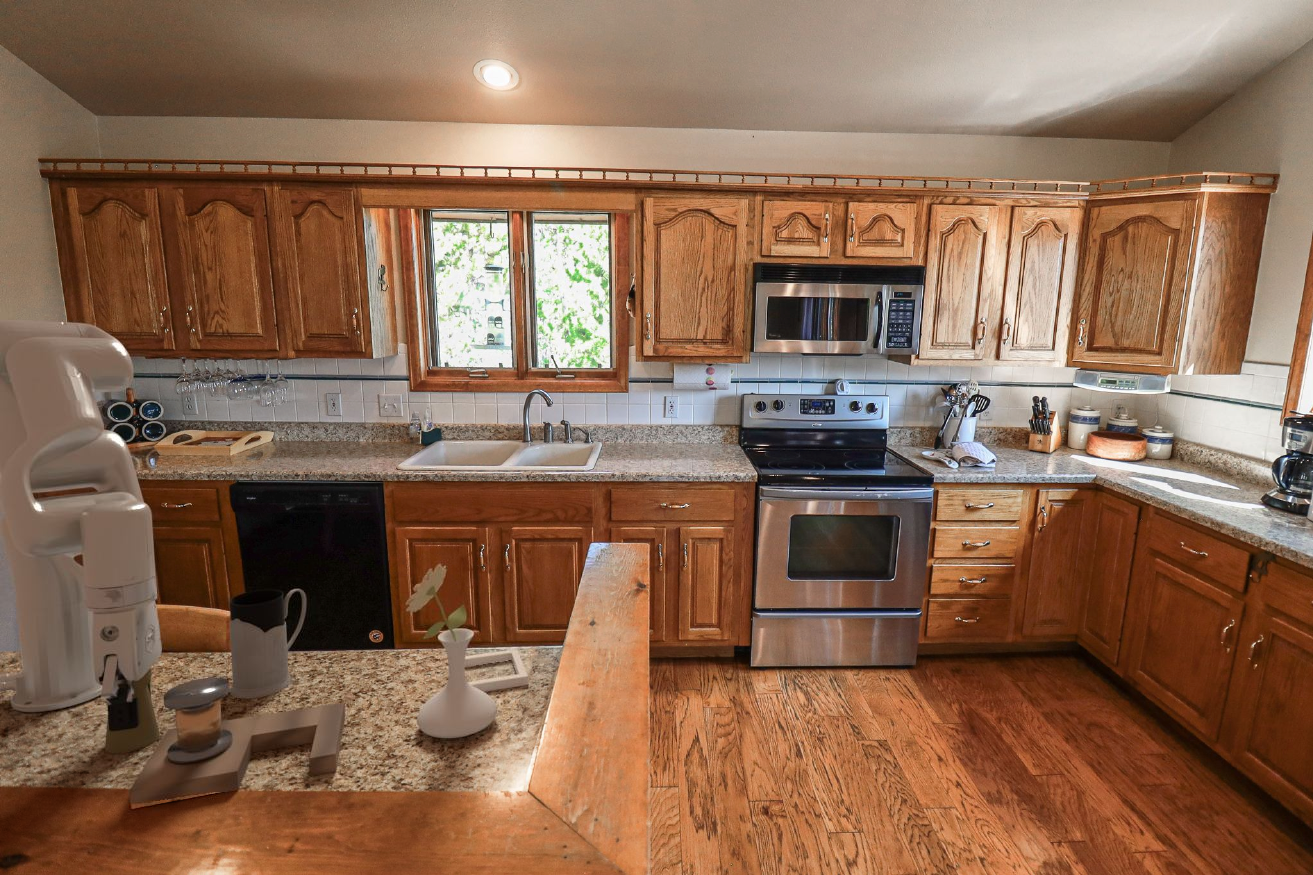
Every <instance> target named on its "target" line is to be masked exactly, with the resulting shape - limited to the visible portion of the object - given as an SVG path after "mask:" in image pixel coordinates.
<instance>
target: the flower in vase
mask: <svg viewBox="0 0 1313 875" xmlns="http://www.w3.org/2000/svg"><path fill="white" fill-rule="evenodd" d="M446 567H447V566H446V565H444V566H442V564H441V563H439V564H437V565H436V566H435V568H434V570H433V568H429V569H428V570H427V571H426V574H425V575H424V576H423V578H422V581H421V582H420V583H417V584H415V585H414V586H413V588H412V590H413V592H414V593H413V594H412V595H410V597H409V598H408V599H407V601H406V602H405V606H408V605H409V606H408V607H407V608H406V612H409V613H412V612H414V613H416V612H418V611H419V610H421V609H422V608H423V607H424V606H426V604H428V602H430V600H432V599H433V598H435V600H436V603H437V605H438V607H439V609H440V612H441V615H442V618H443V620H444V621H438V622H435V623H434V624H433V625H431V627H429V628H428V629H427V631H426V632H425V633H424V635H423V636H424V637H423V638H422V640H425V639H429V638H433V637H435V636H436V635H438V636H437V639H438V641H439V642H440V643H441V644H442V646H443V647H444V649H445V652H446V656H447V664H448V679H447V681H446V682H447V683H446V685H445V686H444V687H443V688H442V689H441V690H439V691H438V692H437V693H435V694H434V695H433V696H432V697H431V698H429V699H428V700H427V701H426V702H425V703H424V704H423V705H422V706H421V708H420V709H419V712H418V714H417V717H416V725H417V726H418V728H419V729H420V730H421V731H422V732H423V733H424V734H426V735H427V736H430V737H434V738H440V739H454V738H456V739H457V738H462V737H467V736H470V735H472V734H473V735H474V734H476V733H478V732H481V731H482V730H483V729H485V728H487V727H488V726H489V725H491V723H492V722H493V720H494V719H495V718H496V716H497V714H498V706H497V704H496V702H495V700H494V699H493V697H491V696H490V695H489V694H487V693H486V691H485V692H483V691H481V690H479V689H477V688H475V687H473V686H472V685H470V684H469V683H468V682H469V681H468V680H467V678H466V672H465V671H466V670H465V668H466V667H465V656H466V653H467V649H468V646H469V643H470V642H471V640H472V639H473V637H474V635H475V633H474V631H473V630H471V629H468V628H459V627H461V626H462V625H464V624H465V623H466V622H467V618H468V616H467V611H466V606H465V604H462V605H461V606H460V607H458V608H457V609H456V610H455V611H453V612H452V613H451V614H450V615H449V616H448V617H446V614H445V610H444V608H443V605H442V603H441V601H440V598H439V597H438V595H437V592H438V590H439V589H440V587H442V586H443V583H444V580H445V577H446V573H447V571H448V570H447V569H446ZM445 625H446V627H447V628H448V630H444V631H442V632H441V633H440V631H441V630H442V629H443V627H444V626H445ZM439 633H440V634H439Z"/></svg>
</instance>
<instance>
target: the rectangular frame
mask: <svg viewBox="0 0 1313 875" xmlns="http://www.w3.org/2000/svg"><path fill="white" fill-rule="evenodd" d="M506 660H512V661H513V663H512V666H513V665H514V666H513V668H515V669H514V671H515V670H516V671H515V674H510V675H506V676H505V675H504V676H498V677H492V678H484V679H479V680H472V681H467V682H468V683H469V684H470V685H472V686H473V687H475V688H477V689H479V690H481V691H483V692H485V693H486V692H491V691H497V690H503V689H509V688H516V687H521V686H528V685H529V675H528V673H527V670H526V667H525V665H524V662H523V660H522V658H521V656H520V652H519V651H518V648H517V649H507V650H502V651H501V650H500V651H494V652H493V651H492V652H488V653H487V652H486V653H479V654H474V655H465V668H470V667H477V666H476V665H479V666H484V665H483V664H486V663H492V662H496V661H497V662H498V661H506ZM512 661H511V662H512ZM486 665H487V664H486ZM516 673H517V674H516Z"/></svg>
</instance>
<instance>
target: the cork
mask: <svg viewBox="0 0 1313 875" xmlns="http://www.w3.org/2000/svg"><path fill="white" fill-rule="evenodd" d="M152 672H153V671H152V667H151V668H150V669H149V670H148V671H147V673H146V674H145V675H144V676H143V677H142V678H141V679H139V680H138V681H134V698H138V712H139V725H138V727H136V728H133V729H126V730H119V731H110V730H109V721H108V719H107V723H106V732H105V743H104V744H105V745H104V751H105V752H107V753H108V754H109V753H110V754H117V755H118V754H125V753H130V752H135V751H137V750H141V749H143V748H145V747H148V746H149V745H151V744H152V743H154V742H155V741H157V739H159V737H160V733H161V732H160V729H159V726H158V725H159V724H158V721H157V718H156V717H157V716H156V713H155V709H154V705H153V700H152V696H151V697H150V693H149V689H148V684H149V682H150V683H151V679H152V676H153V673H152ZM123 678H125V677H124V675H119V677H118V679H123ZM118 687H119V688H124V689H125V690H126V684H120V685H118Z"/></svg>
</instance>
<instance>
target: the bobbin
mask: <svg viewBox="0 0 1313 875" xmlns="http://www.w3.org/2000/svg"><path fill="white" fill-rule="evenodd" d="M230 689H231V687H230V681H229V680H228V679H226V678H223V677H214V676H212V677H203V678H202V677H201V678H198V679H192V680H189V681H186V682H183V683H180V684H179V685H176V686H174V687H173V688H171V689H169V690H167V691H166V692H165V693H164V695H163V706H164V707H165V708H167V709H168V710H169V709H170V710H175V711H174V712H175V725H176V727H175V728H177V741H176V742H174V743H173V744H172V745H171V746H170V747H169V749H168V751H167V754H168V761H169V762H170V763H172V764H176V765H190V764H196V763H200V762H204V761H207V760H210V759H212V758H215V757H217V756H219V755H220V754H222V753H224V752H225V751H226V750H228V749H229V748H230V746H231V745H232V743H233V738H232V733H231V732H230V731H228V730H225V729H222V721H223V720H222V710H221V708H222V707H221V699H223V698H225V697H226V695H228V694H229V693H230Z"/></svg>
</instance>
